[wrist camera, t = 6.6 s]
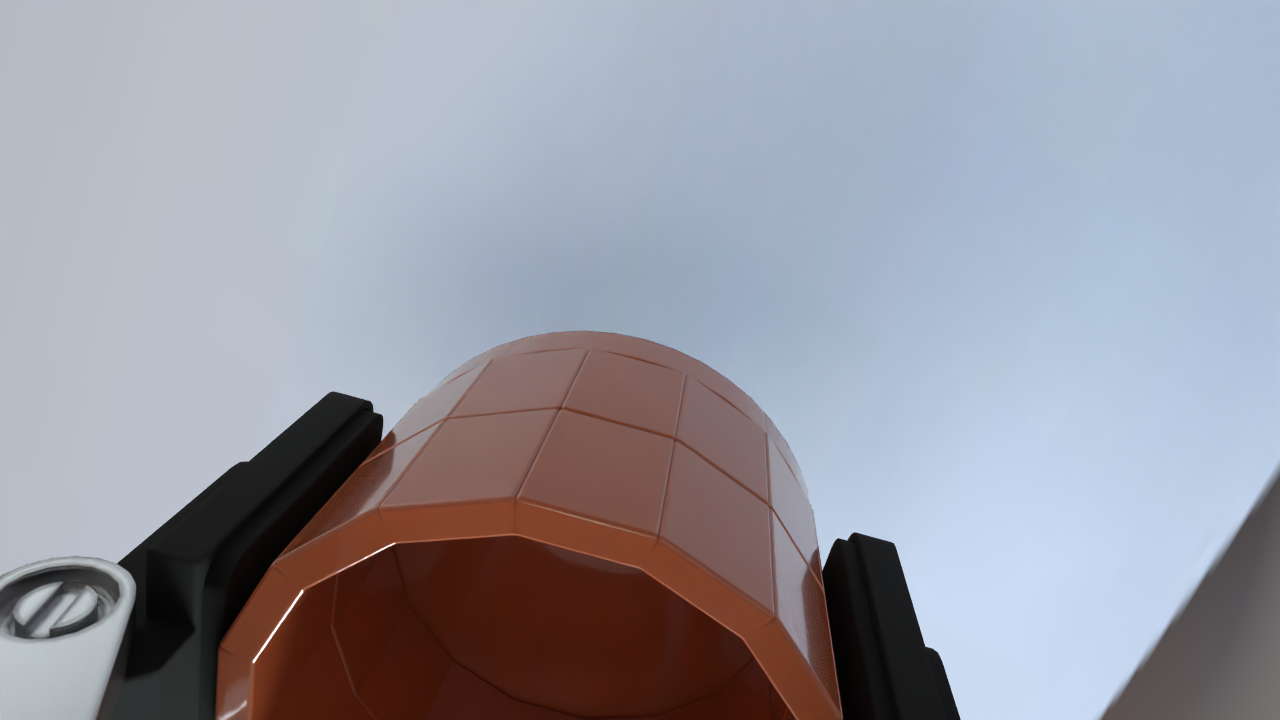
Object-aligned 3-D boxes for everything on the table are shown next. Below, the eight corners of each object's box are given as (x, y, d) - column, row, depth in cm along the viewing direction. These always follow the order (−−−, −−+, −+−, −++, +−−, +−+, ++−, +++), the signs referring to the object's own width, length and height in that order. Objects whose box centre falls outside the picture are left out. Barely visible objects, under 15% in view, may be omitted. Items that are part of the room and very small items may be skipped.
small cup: (875, 398, 11) (954, 617, 7) (742, 741, 13) (742, 1054, 9) (418, 277, 11) (226, 418, 7) (369, 637, 14) (204, 900, 9)
